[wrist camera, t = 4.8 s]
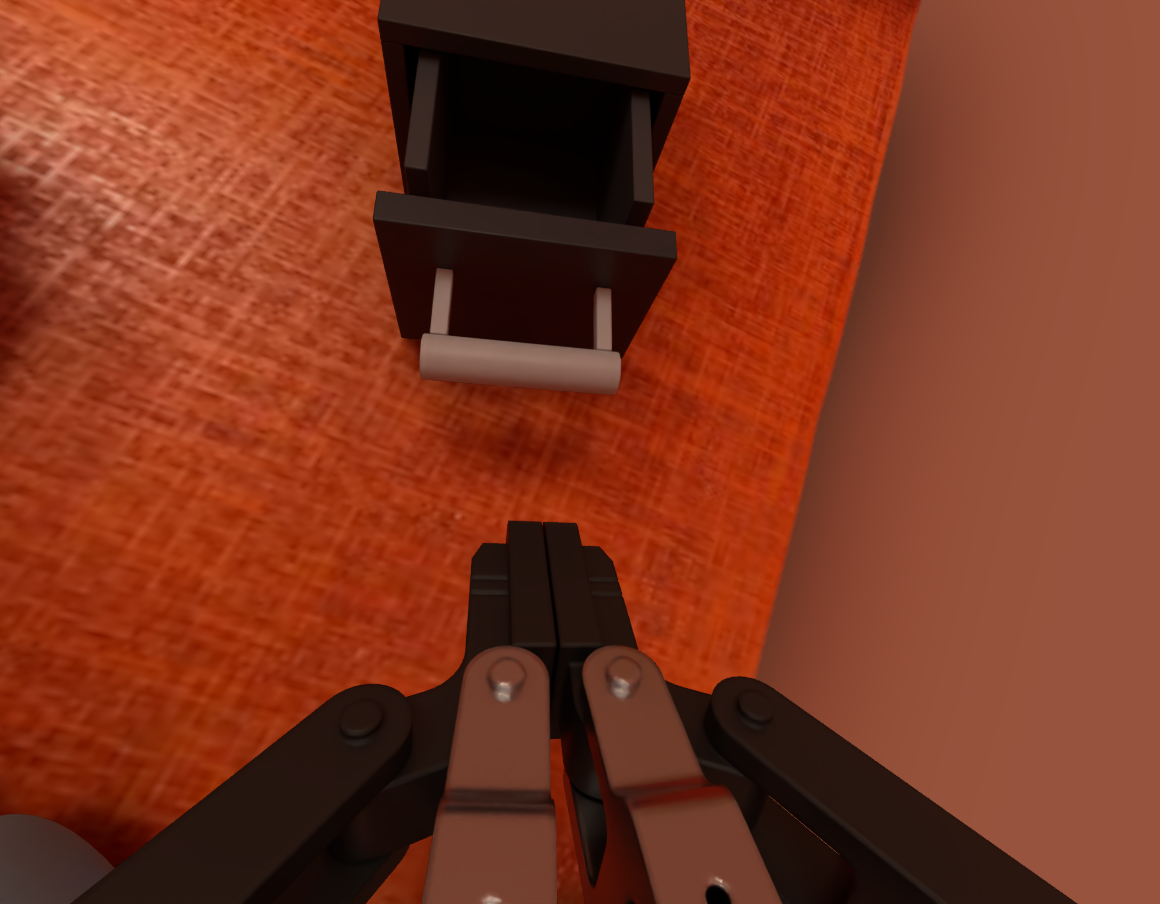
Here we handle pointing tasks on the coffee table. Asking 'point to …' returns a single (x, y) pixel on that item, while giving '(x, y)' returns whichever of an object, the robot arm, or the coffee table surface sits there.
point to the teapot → (45, 862)
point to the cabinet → (544, 46)
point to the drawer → (523, 225)
